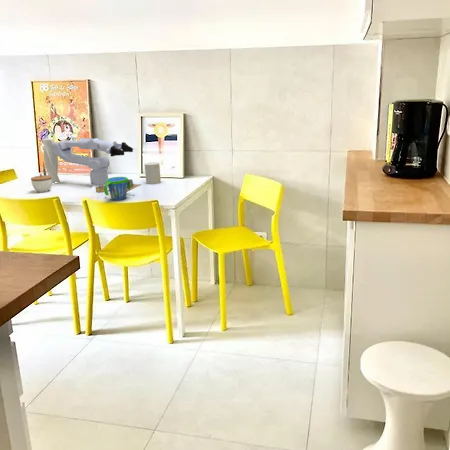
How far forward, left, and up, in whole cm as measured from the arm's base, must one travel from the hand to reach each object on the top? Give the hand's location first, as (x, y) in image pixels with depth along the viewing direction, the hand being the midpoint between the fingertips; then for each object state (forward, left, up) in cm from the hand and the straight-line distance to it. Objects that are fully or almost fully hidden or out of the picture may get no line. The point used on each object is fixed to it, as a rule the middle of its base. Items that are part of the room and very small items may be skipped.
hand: (128, 151), depth 264 cm
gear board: (-1, -5, -20) cm, 21 cm away
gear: (-1, -2, -19) cm, 19 cm away
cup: (+9, +9, -20) cm, 24 cm away
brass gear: (-10, -15, -20) cm, 27 cm away
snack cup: (+5, -24, -20) cm, 32 cm away
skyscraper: (-55, +7, -20) cm, 59 cm away
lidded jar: (-47, -14, -20) cm, 53 cm away
